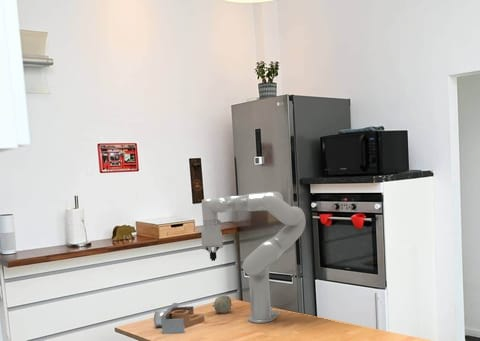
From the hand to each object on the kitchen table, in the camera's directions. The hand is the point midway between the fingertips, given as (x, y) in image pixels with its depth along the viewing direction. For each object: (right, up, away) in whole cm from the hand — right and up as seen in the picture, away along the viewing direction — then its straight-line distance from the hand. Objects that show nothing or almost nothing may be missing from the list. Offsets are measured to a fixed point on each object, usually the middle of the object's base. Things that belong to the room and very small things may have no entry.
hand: (213, 260), depth 238 cm
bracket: (-12, -29, -7) cm, 32 cm away
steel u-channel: (-20, -29, -9) cm, 37 cm away
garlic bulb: (+4, -29, +10) cm, 31 cm away
